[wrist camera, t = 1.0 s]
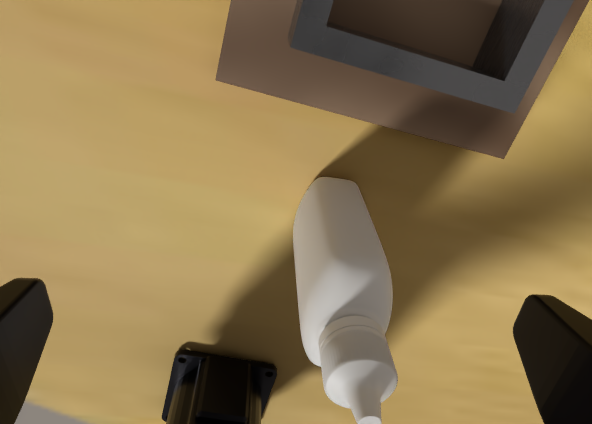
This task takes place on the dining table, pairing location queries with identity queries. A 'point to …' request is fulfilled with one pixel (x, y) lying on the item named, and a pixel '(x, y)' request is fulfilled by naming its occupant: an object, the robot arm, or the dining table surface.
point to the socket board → (376, 87)
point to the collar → (435, 69)
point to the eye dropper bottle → (344, 296)
